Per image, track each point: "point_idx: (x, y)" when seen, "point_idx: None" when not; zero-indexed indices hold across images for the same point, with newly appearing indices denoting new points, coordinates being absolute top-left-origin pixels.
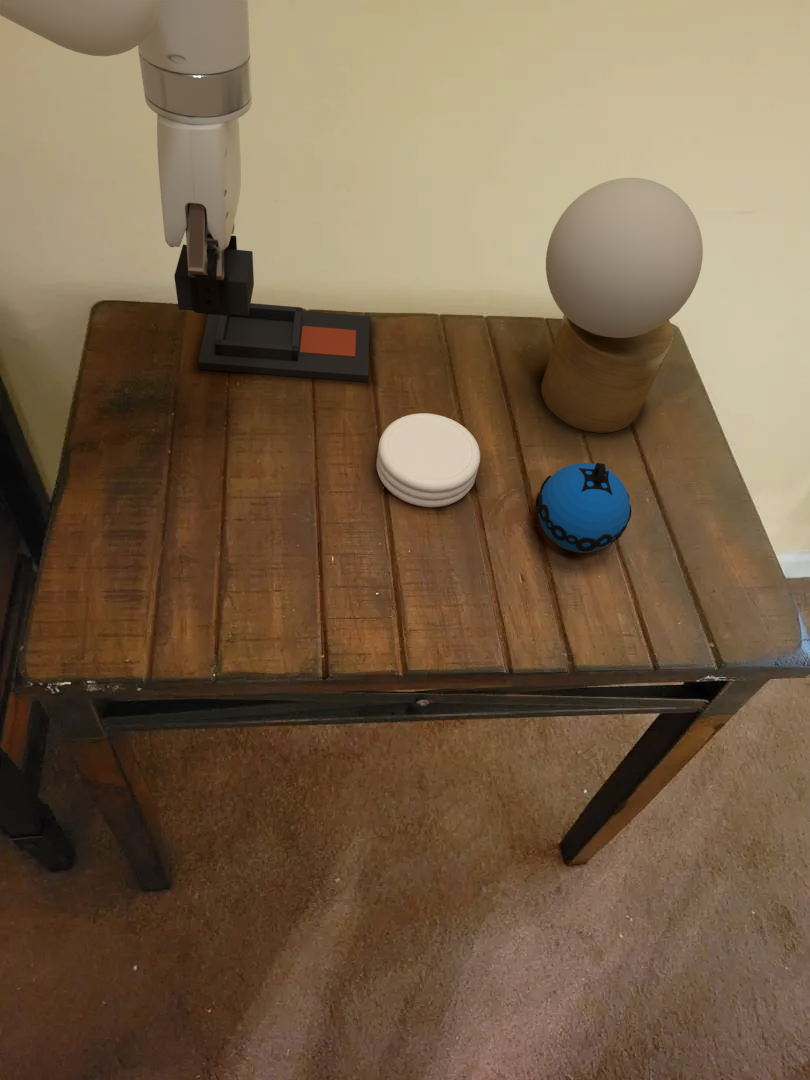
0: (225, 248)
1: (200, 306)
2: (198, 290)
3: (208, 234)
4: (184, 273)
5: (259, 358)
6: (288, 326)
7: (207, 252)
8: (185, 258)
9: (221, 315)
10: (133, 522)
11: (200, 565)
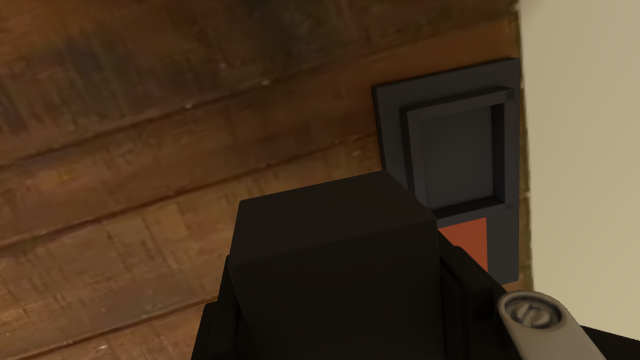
0: (446, 348)
1: (206, 306)
2: (194, 352)
3: (475, 335)
4: (255, 292)
5: (405, 173)
6: (482, 190)
7: (406, 312)
8: (348, 260)
9: (477, 99)
10: (32, 106)
11: (10, 218)
